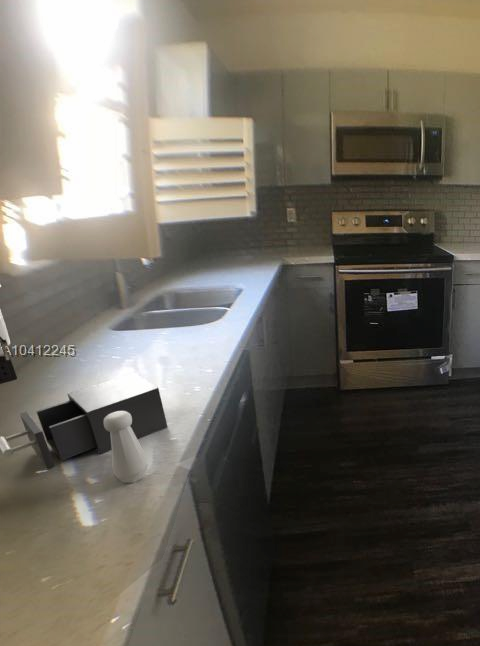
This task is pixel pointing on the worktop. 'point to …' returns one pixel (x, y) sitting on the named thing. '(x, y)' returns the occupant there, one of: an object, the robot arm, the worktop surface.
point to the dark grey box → (121, 406)
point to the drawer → (55, 433)
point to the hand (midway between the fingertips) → (6, 380)
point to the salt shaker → (125, 448)
